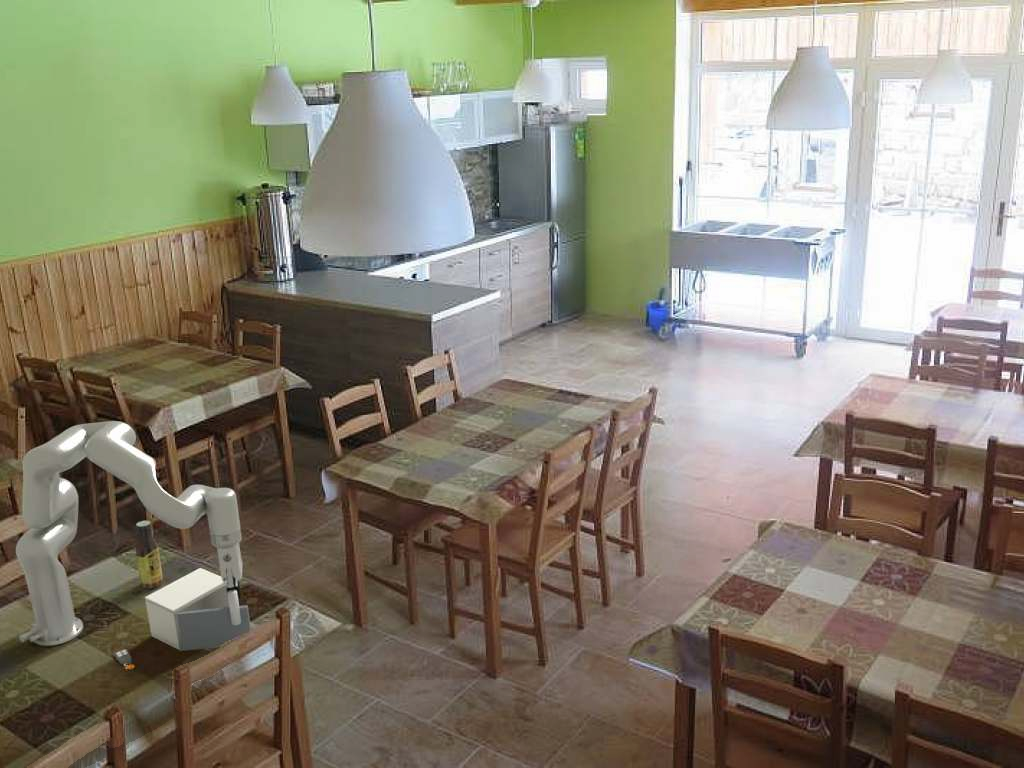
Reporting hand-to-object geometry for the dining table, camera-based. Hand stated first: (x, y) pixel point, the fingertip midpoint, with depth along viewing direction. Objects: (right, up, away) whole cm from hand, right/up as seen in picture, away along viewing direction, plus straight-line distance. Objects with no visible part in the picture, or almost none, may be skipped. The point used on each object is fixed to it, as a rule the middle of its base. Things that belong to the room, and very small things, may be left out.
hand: (234, 597), depth 252 cm
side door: (-5, -13, +1) cm, 14 cm away
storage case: (-15, -10, +11) cm, 21 cm away
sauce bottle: (-34, -3, +33) cm, 48 cm away
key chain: (-26, -17, -4) cm, 32 cm away
